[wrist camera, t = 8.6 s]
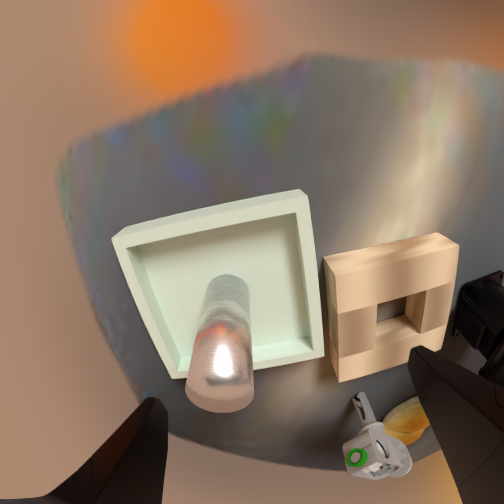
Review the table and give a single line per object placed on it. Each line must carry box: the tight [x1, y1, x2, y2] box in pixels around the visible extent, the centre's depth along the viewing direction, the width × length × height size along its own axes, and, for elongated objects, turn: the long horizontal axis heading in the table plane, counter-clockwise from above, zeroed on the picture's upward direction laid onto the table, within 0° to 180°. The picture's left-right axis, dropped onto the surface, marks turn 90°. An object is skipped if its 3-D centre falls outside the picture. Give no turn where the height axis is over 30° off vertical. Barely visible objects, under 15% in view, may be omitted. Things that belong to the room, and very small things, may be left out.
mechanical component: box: [343, 392, 412, 480], centre depth 21 cm, size 3×10×10 cm, turn 48°
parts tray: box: [112, 189, 324, 379], centre depth 19 cm, size 12×12×2 cm
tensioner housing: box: [323, 232, 459, 383], centre depth 20 cm, size 10×10×3 cm
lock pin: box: [185, 274, 254, 413], centre depth 15 cm, size 3×3×9 cm
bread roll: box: [382, 396, 430, 446], centre depth 27 cm, size 8×9×4 cm
